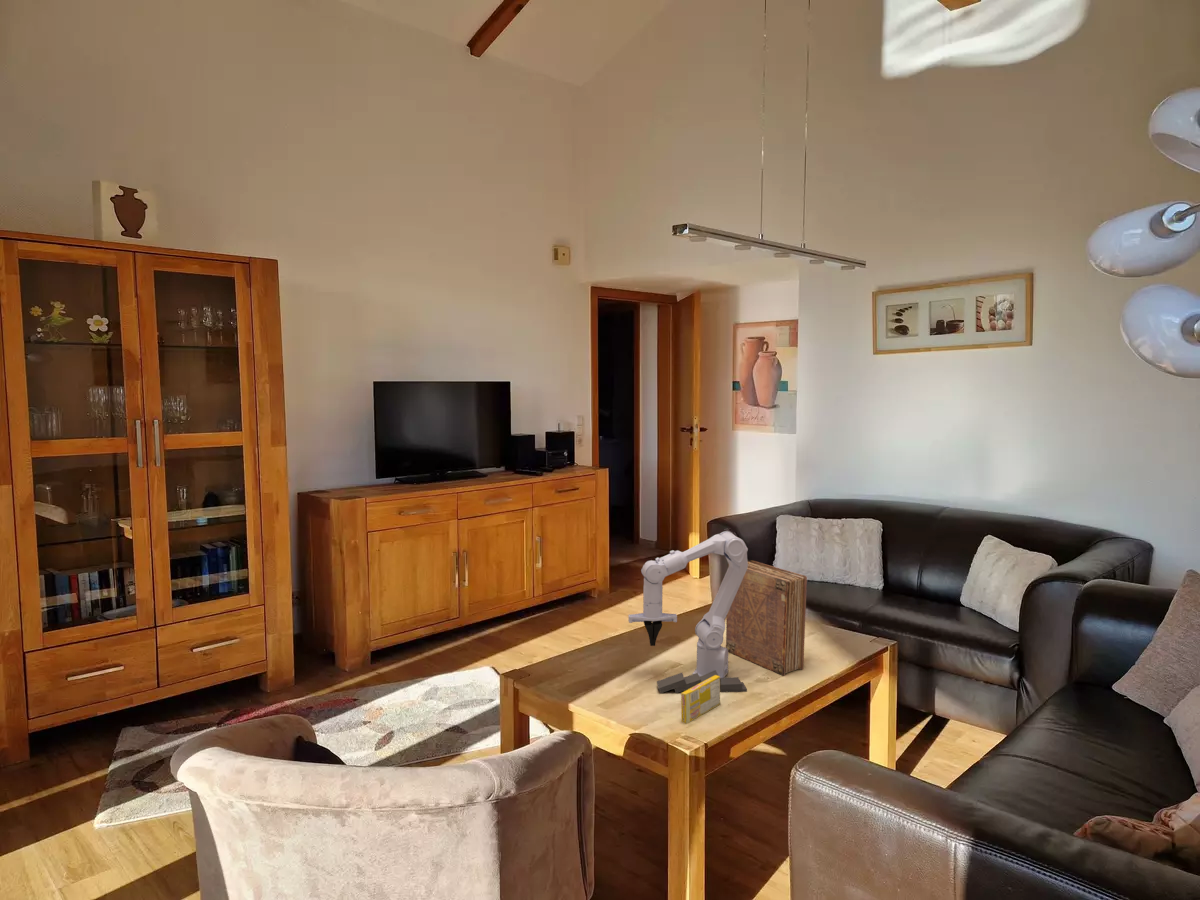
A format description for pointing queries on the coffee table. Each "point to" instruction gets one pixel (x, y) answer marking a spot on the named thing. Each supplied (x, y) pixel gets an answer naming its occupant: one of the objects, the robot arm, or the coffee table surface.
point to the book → (768, 618)
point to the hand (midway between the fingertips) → (652, 644)
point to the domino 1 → (671, 682)
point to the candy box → (700, 699)
